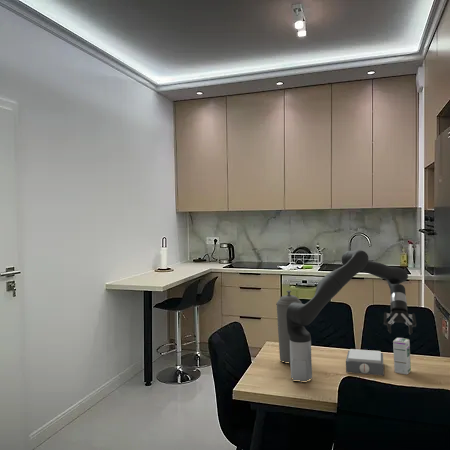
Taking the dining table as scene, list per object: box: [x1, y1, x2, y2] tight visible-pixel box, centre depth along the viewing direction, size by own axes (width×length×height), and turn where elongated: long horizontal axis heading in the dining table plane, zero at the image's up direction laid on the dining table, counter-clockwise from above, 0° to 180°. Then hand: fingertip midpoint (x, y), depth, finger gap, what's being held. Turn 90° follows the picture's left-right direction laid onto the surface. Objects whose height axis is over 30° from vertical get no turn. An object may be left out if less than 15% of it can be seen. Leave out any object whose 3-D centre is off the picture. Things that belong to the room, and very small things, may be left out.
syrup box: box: [392, 337, 412, 376], centre depth 189 cm, size 6×6×14 cm
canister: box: [276, 290, 303, 363], centre depth 209 cm, size 13×13×35 cm
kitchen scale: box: [345, 348, 385, 377], centre depth 195 cm, size 17×16×6 cm
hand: (400, 333), depth 196 cm, fingers open, 8 cm apart
